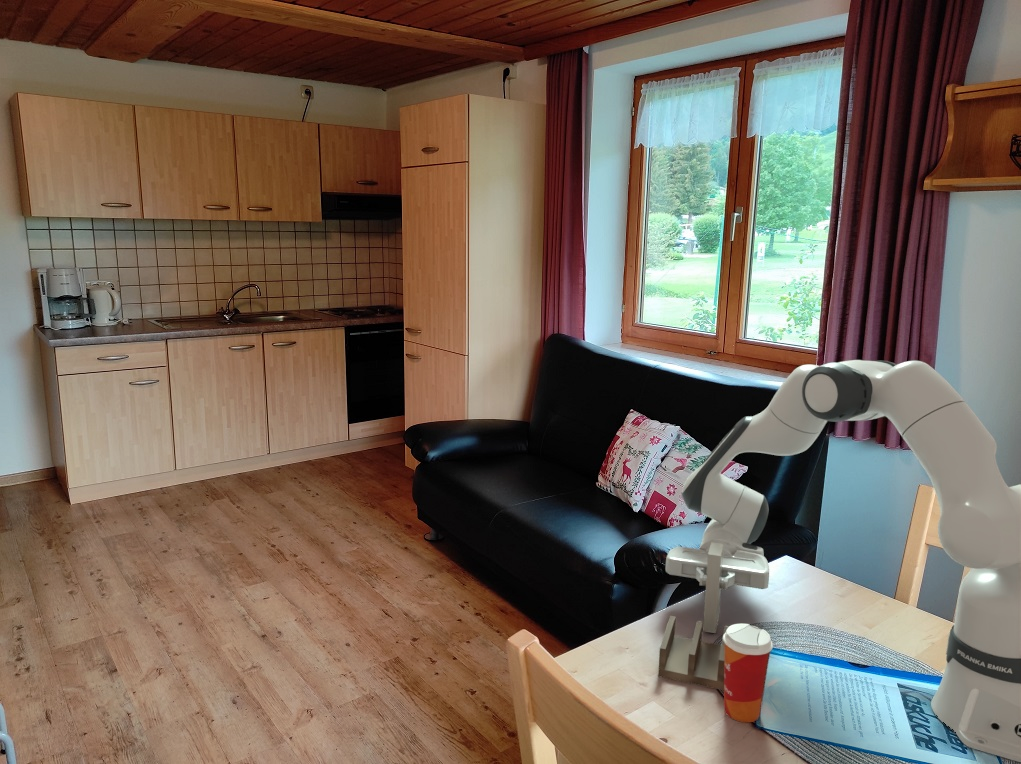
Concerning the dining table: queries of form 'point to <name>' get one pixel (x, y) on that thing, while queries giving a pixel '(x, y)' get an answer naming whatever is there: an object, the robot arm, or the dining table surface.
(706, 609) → the strip
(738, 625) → the paper cup
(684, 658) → the rack
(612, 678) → the dining table surface
